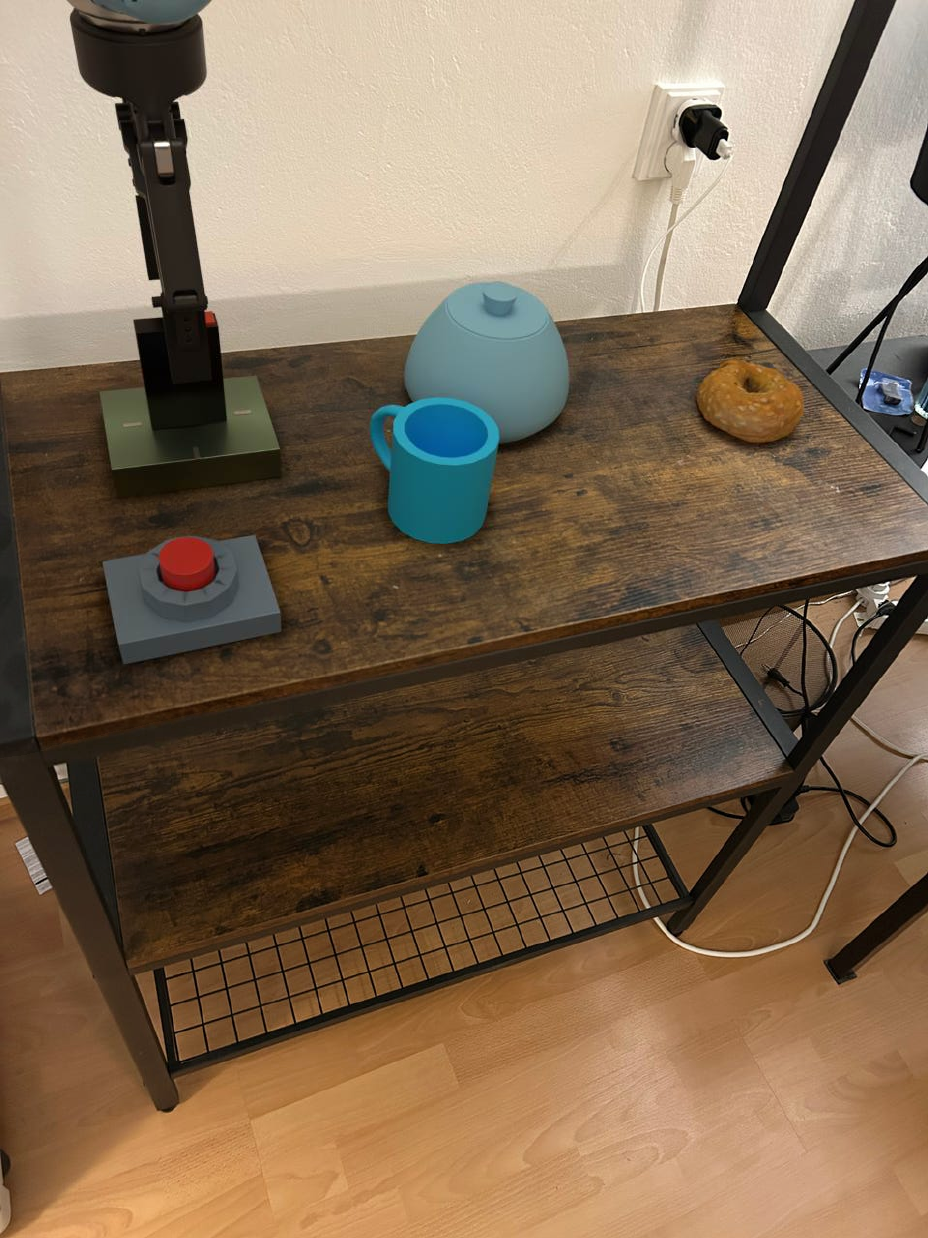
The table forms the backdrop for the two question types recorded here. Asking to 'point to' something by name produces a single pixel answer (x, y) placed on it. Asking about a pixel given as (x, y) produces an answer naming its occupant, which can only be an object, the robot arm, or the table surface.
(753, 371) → the bagel
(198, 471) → the dial panel
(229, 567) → the button housing
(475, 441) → the mug
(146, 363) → the black slab
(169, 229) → the robot arm
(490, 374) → the sugar bowl
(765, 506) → the table surface
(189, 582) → the button
